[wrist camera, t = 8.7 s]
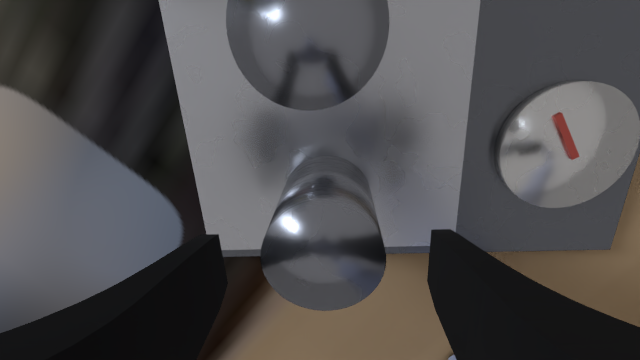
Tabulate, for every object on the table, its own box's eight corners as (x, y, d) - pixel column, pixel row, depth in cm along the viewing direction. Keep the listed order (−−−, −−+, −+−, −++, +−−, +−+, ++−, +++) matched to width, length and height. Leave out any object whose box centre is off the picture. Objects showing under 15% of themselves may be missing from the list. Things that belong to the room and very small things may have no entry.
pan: (449, 237, 16) (454, 245, 16) (214, 242, 17) (209, 250, 16) (478, -46, 12) (485, -52, 11) (162, -22, 13) (153, -27, 12)
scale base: (595, 238, 17) (622, 258, 16) (225, 246, 19) (213, 265, 17) (687, -86, 12) (742, -107, 11) (171, -44, 14) (148, -57, 12)
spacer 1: (370, 87, 13) (387, 106, 9) (272, 93, 14) (238, 114, 9) (370, -27, 12) (390, -79, 7) (260, -19, 12) (212, -63, 7)
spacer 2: (369, 235, 16) (382, 312, 11) (286, 234, 16) (265, 309, 11) (372, 155, 14) (389, 204, 10) (281, 155, 14) (254, 204, 10)
